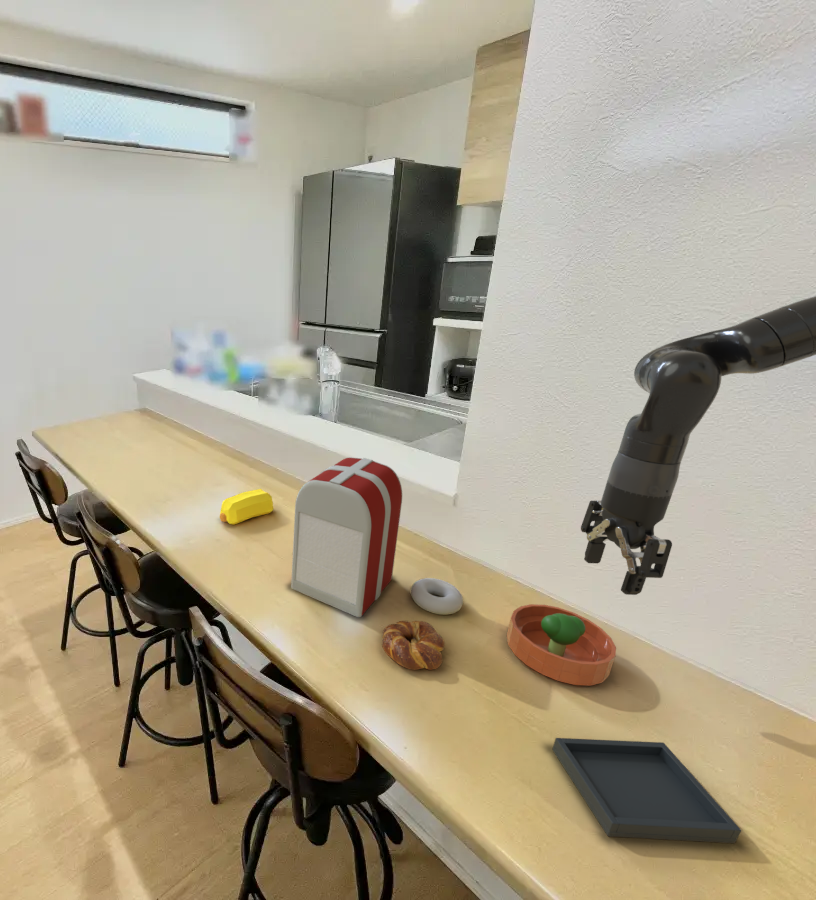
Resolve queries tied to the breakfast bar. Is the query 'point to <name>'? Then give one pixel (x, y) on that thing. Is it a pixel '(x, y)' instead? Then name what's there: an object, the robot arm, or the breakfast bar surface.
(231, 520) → the yellow faceted capsule
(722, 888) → the breakfast bar surface
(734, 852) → the breakfast bar surface
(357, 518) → the red grey arched block
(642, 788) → the tray
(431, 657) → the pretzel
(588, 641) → the bowl
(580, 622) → the broccoli
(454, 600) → the donut
